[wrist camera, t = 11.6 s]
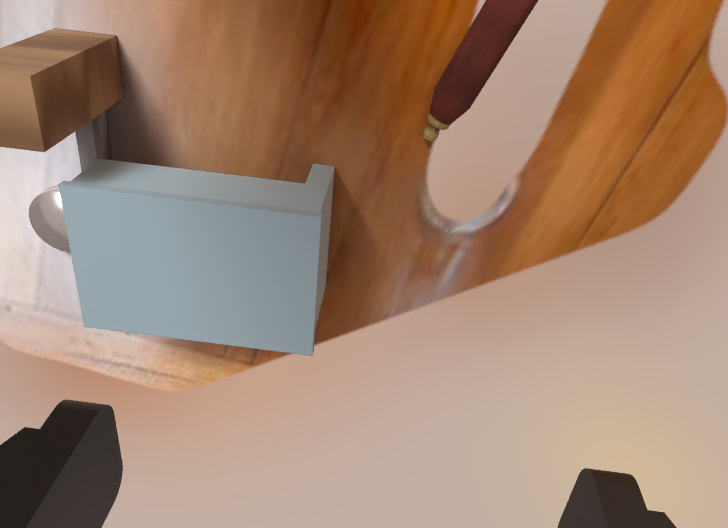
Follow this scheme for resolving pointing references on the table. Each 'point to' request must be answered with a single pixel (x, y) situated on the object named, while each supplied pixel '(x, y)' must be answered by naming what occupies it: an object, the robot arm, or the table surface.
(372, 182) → the table surface
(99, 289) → the plinth shelf
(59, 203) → the silver metal disc
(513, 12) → the gavel
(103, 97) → the wood grain block
